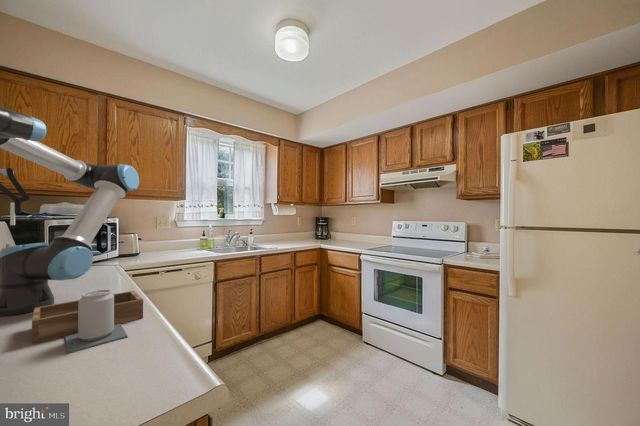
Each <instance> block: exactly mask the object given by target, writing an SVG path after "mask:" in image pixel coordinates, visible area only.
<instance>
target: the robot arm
mask: <svg viewBox="0 0 640 426" xmlns="http://www.w3.org/2000/svg"><path fill="white" fill-rule="evenodd" d="M47 133H48V131H47V126H46V124H45V123H44V122H43V120H41V119H38V118H36V117H33V116H31V115H28V114H24V113H20V112H18V111H14V110H13V109H8V108H5V107H3V106H1V105H0V148H1V149H2V150H5V151H7V152H10V153H12V154H14V155H16V156H19V157H21V158H23V159H25V160H27V161H30V162H32V163H35V164H37V165H39V166H41V167H44V168H46V169H48V170H51V171H53V172H55V173H58V174H60V175H62V176H63V177H64V179H66V180H67V181H70V182H72V183H75V184H77V185H80V186H82V187H85V188H88V189H91V190H94V191H93V193H92V194H91V195H90V197H89V198H88V199H87V200H86V202H85V203H84V204H83V206H82V208H81V209H80V210H79V212H78V214H77V215H76V216H75V217H74V219H73V221H72V222H71V223H70V225H69V226H68V228H67V229H66V230H65V232H64V233H63V234H62V235H59V236H55V237H54V238H53V239H52V240H51V242H50V244H48V243H47V242H35V243H28V244H27V243H26V244H19V245H18V244H17V245H10V246H5V247H2V248H1V249H0V317H4V316H5V317H6V316H15V315H21V314H27V313H31V312H32V313H33V312H34V308H36V307H42V306H48V305H54V304H55V296H54V294H53V291H52V289H51V287H50V285H49V281H67V280H69V281H70V280H77V278H78V279H79V278H80V277H82V276H84V275H85V274H86V273H87V272H88V271H89V270H90V269H91V267H92V265H93V263H94V259H93V258H94V255H93V254H94V253H92V251H93V247H92V245H91V244H92V242H93V240H94V239H95V237H96V236H97V234H98V233H99V230H100V229H101V228H102V226H103V224H104V223H105V222H106V219H107V218H108V216H109V215H110V214H111V211H112V210H113V209H114V208H115V206H116V204H117V202H118V201H119V200H120V199H124V198H125V197H126V196H127V194H128V193H129V192H131V191H132V192H133V191H135V190H137V189H138V188H139V185H140V178H139V177H140V176H139V174H138V172H137V170H136V169H135V168H134V167H133V166H131V165H130V164H123V163H119V164H92V163H88V162H85V161H83V160H81V159H74V158H72V157H70V156H68V155H65V154H64V153H62V152H59V151H57V150H56V149H54V148H52V147H50V146H47V145H46V144H44V143H42V142H40V141H42V140H43V139H44V138H45V137H46V135H47ZM14 172H15V171H14V170H13V168H11V167H8V168H0V173H1V174H2V175H3V176H5V177H7V178H8V180H10V182H11V185H13V187H14V188H15V189H16V190H17V192H18V193H19V194H20V196H21V197H18V196H17V195H16V194H15V193H13V192H12V191H11V190H9V188H8V187H6V186H4V185H3V184H2V183H1V182H0V191H1V192H2V193H4V194H5V195H6V196H7V197H8V198H10V199H11V200H12V201H14V202H9V203H10V208H9V209H10V210H9V211H10V215H9V216H10V217H9V219H10V222H9V225H10V226H15V225H16V214H21V212H22V203H23V202H24V203H25V202H28V201H30V200H31V198H30V196H29V194H28V193H27V191H25V189H24V188H23V186H22V185H21V183H20V182H19V181H18V180H17V178H16V176H15V173H14Z"/></svg>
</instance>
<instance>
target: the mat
mask: <svg viewBox="0 0 640 426" xmlns="http://www.w3.org/2000/svg"><path fill="white" fill-rule="evenodd" d="M121 324H122V323H118V324H114V330H113V331H112V332H111V333H110V334H109V335H108V336H106V337H103V338H101V339H97V340H92V341H84V340H82V339H80V338H79V337H78V333H76V334H72V335H68V336H65V337H64V339H65V349H66V355H67V354H71V353H74V352H78V351H82V350H85V349H86V350H87V349H89V348H93V347H97V346H101V345H105V344H108V343H111V342H115V341H118V340H122V339H125V338H128V337H129V336H128V333H127V332H126V331H125V329H124V328H123V326H122V325H121Z"/></svg>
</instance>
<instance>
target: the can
mask: <svg viewBox="0 0 640 426" xmlns="http://www.w3.org/2000/svg"><path fill="white" fill-rule="evenodd" d="M113 294H114V293H112V290H110V289H98V290H90V291H87V292H85V293H82V294H81V297H80V299H78V300H79V301H78V337H79V338H80V339H82V340H84V341H92V340H97V339H101V338H103V337H106V336H108V335H109V334H110V333H111V332H112V331H113V330H114V295H113Z"/></svg>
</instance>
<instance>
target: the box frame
mask: <svg viewBox="0 0 640 426" xmlns="http://www.w3.org/2000/svg"><path fill="white" fill-rule="evenodd" d="M112 294H113V295H114V324H118V323H120V324H124V323H129V322H133V321H136V320H141V319H144V298H143V297H141V296H140V295H139V294H138V293H136V292H135V291H134V290H131V291H130V290H129V291H125V292H119V293H112ZM79 300H80V299H78V300H72V301H65V302H62V303H60V302H59V303H54V304H53V305H48V306H42V307H36V308H34V311H33V312H32V314H33V315H32V320H31V345H36V344H41V343H45V342H49V341H52V340H56V339H61V338H65V336H68V335H72V334H76V333H78V301H79Z"/></svg>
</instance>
